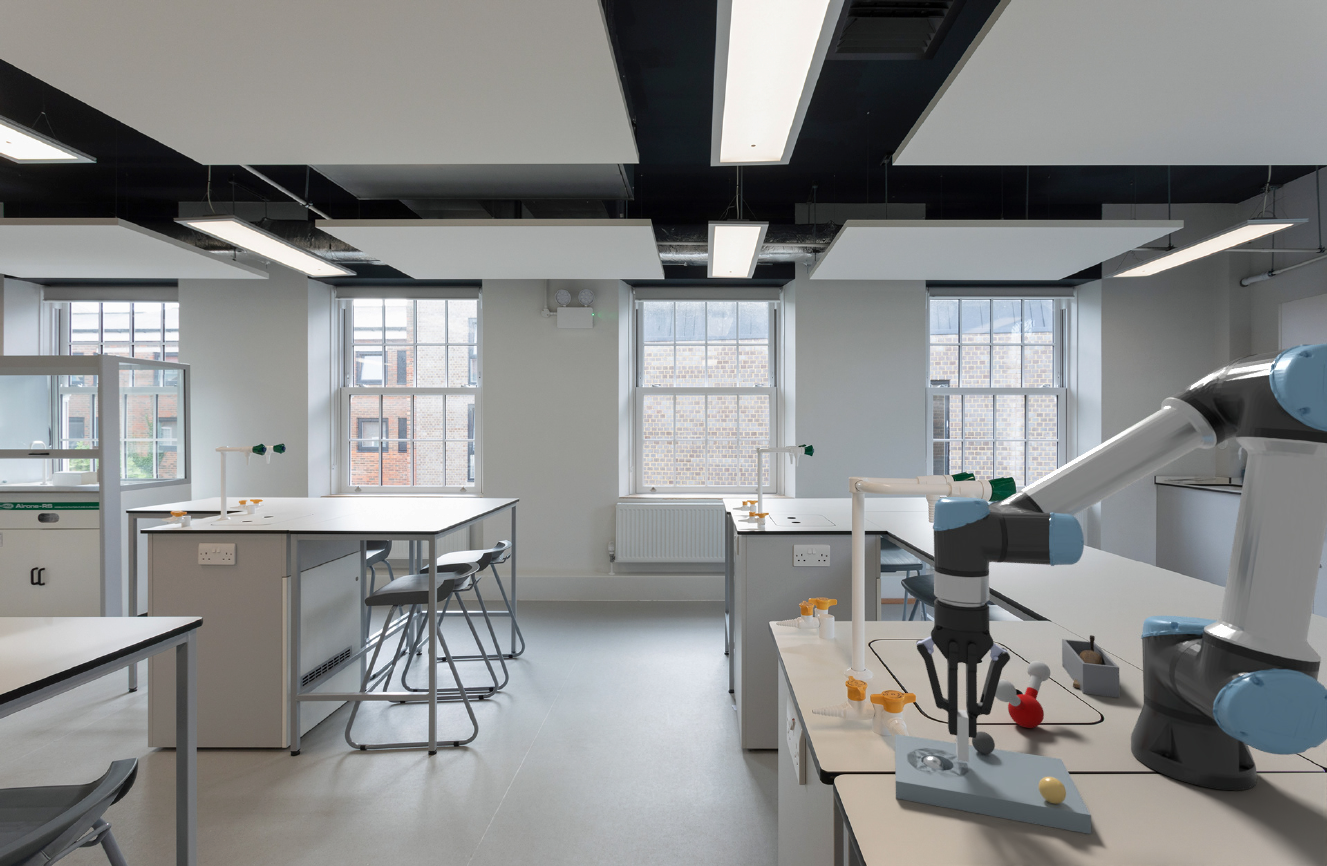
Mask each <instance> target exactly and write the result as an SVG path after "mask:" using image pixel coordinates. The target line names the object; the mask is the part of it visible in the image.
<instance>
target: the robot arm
mask: <svg viewBox="0 0 1327 866" xmlns="http://www.w3.org/2000/svg"><path fill="white" fill-rule="evenodd" d="M1160 406H1161V407H1160V409H1159V410H1158V411H1155V412H1154V413H1152V414H1151V415H1149V416H1147V417H1145V418H1143V419H1142V420H1140V421H1138V422H1137V423H1135V424H1133V425H1131V426H1129V427H1128V428H1126V429H1124V430H1122V431H1121V432H1119V433H1118V434H1116V435H1114V436H1113V437H1110V438H1109V439H1107V440H1106V441H1104V442H1102V443H1100V444H1099V445H1097V446H1095V447H1094V448H1092V449H1090V450H1088V451H1087V452H1085V453H1083V454H1081V455H1079V456H1078V457H1076V458H1075V459H1072V460H1071V461H1069V462H1068V463H1066V464H1064V465H1063V466H1061V467H1059V468H1057V469H1056V470H1054V471H1052V472H1050V473H1049V474H1046V475H1045V476H1044V477H1042V478H1040V479H1038V480H1036V481H1034V482H1033V483H1032V484H1030V485H1028V486H1026V487H1024V488H1022V489H1021V490H1019V491H1018V492H1015V493H1013V494H1012V495H1010V496H1008V497H1006V498H1005V499H1003V500H995V501H991V502H988V501H987V500H986V499H983V498H979V497H964V496H952V497H951V496H948V497H945V496H944V497H941V498H938V500H936V502H935V503H934V511H933V512H934V514H933V526H932V529H933V554H934V555H933V561H934V563H933V564H934V565H933V568H934V569H933V576H934V577H933V582H934V583H933V589H934V590H933V591H934V592H933V595H934V596H935V597H937V598H935V599H934V602H933V603H934V604H933V607H934V608H933V611H934V612H933V613H934V615H933V616H934V617H933V618H934V621H933V622H934V625H933V628H932V630H931V631H930V636H928V637H926V638H924V639H921V638H920V639H918V640H916V650H917V651H918V653H919V655H920V656H921V658H922V659H923V661H924V664H925V669H926V672H927V676H928V680H929V682H930V687H931V691H932V695H933V699H934V703H935V706H936V707H937V709H939V710H944V711H945V712H947V729H948V732H949V734H950V735H951V736H955V743H956V753H957V758H958V760H960V761H966V762H969V745H970V744H969V743H970V739H972V738H976V736H977V732H978V730H977V729H978V728H977V727H978V724H977V723H978V718H979V716H982V715H984V716H989V715H990V714H991V712H992V709H993V708H992V707H993V705H994V700H995V698H996V697H995V694H996V690H997V687H998V683H999V680H1000V678H1001V676H1002V672H1003V669H1004V668H1005V666H1006V665H1007V664H1008V662H1009V661H1010V660H1011V656H1010V654H1009V651H1008V650H1007V648H1004V647H1000V646H999V645H997V644H996V643H995V642H994V639H993V637H992V635H991V633H990V606H989V604H988V603H987V602H988V601H989V600H990V563H998V564H1000V563H1004V564H1005V563H1006V564H1007V563H1009V564H1010V563H1011V564H1025V565H1026V564H1028V565H1029V564H1030V565H1047V566H1049V565H1050V566H1051V567H1055V566H1062V565H1063V566H1064V565H1065V566H1067V565H1068V566H1069V565H1075V564H1076V563H1078V562H1079V561H1080V560H1081V558H1082V555H1083V553H1084V548H1085V544H1084V543H1085V542H1084V541H1085V539H1084V538H1085V537H1084V531H1083V529H1082V525H1081V523H1080V521H1079V520H1078V519H1077V518H1076V517H1075V516H1077V515H1079V514H1080V513H1082V512H1084V511H1086V510H1087V509H1089V508H1091V507H1092V506H1094V505H1097V504H1098V503H1100V502H1102V501H1104V500H1105V499H1107V498H1109V497H1111V496H1112V495H1114V494H1116V493H1118V492H1121V491H1122V490H1123V489H1126V488H1127V487H1129V486H1130V485H1132V484H1134V483H1136V482H1138V481H1140V480H1141V479H1143V478H1146V477H1148V475H1150V474H1152V473H1154V472H1155V471H1159V470H1160V469H1161V468H1163V467H1165V466H1167V465H1169V464H1171V463H1172V462H1174V461H1176V460H1178V459H1179V458H1181V457H1183V456H1184V455H1185V456H1186V455H1187V454H1188V453H1191V452H1192V451H1194V450H1196V449H1197V448H1199V449H1205V450H1209V449H1212V448H1214V447H1216V446H1217V445H1219V444H1221V443H1223V442H1226V441H1227V440H1228V441H1229V440H1230V439H1232V438H1235V441H1236V442H1237V443H1238V444H1239V446H1241V447H1242V448H1243V449H1244V450H1245V451H1246V453H1247V458H1246V465H1245V470H1244V475H1243V476H1244V477H1243V482H1242V487H1241V495H1240V498H1239V499H1240V500H1239V507H1238V511H1237V518H1236V523H1235V530H1234V536H1233V543H1232V547H1231V553H1230V558H1229V559H1230V560H1229V566H1228V572H1227V577H1226V582H1225V589H1224V595H1223V601H1222V605H1221V606H1222V607H1221V612H1220V618H1219V619H1218V620H1216V619H1208V618H1201V617H1192V616H1184V615H1183V616H1180V615H1152V616H1148V617H1146V618H1145V619H1144V620H1143V623H1142V633H1141V637H1140V639H1141V640H1142V641H1141V642H1142V644H1141V645H1142V681H1143V684H1142V687H1143V705H1142V708H1141V711H1140V713H1139V715H1138V718H1137V720H1136V723H1135V725H1134V727H1133V730H1132V732H1131V734H1130V750H1131V753H1132V755H1133V756H1134V758H1136V759H1137V760H1138V761H1139V762H1141V763H1142V764H1144V765H1145V766H1147V767H1149V768H1151V770H1154V771H1156V772H1158V773H1161V774H1163V775H1165V776H1167V777H1170V778H1173V779H1176V780H1179V781H1181V782H1184V783H1188V784H1192V785H1196V786H1199V787H1205V788H1209V789H1216V790H1224V791H1243V790H1248V789H1251V788H1253V787H1254V786H1256V784H1257V766H1256V763H1255V760H1254V757H1253V755H1252V753H1251V750H1250V747H1251V748H1253V749H1255V750H1258V751H1261V752H1264V753H1268V754H1273V755H1281V756H1287V755H1288V756H1289V755H1298V754H1302V753H1305V752H1306V751H1308V750H1309V749H1312V748H1313V749H1314V748H1318V747H1319V746H1320V745H1322V744H1323V743H1324V742H1326V741H1327V688H1326V687H1325V686H1324V685H1323V684H1322V683H1321V682H1320V681H1318V678H1319V672H1320V665H1321V661H1322V657H1321V656H1320V655H1319V654H1318V653H1317V651H1316V650H1315V649H1314V647H1312V646H1311V644H1310V643H1309V642H1308V635H1309V630H1310V626H1311V625H1310V624H1311V619H1312V613H1313V607H1314V606H1313V605H1314V601H1315V596H1316V589H1317V584H1318V579H1319V573H1320V572H1319V571H1320V566H1321V560H1322V555H1323V549H1324V543H1325V538H1326V531H1327V343H1319V344H1317V343H1316V344H1298V345H1295V346H1292V347H1289V348H1285V349H1279V350H1274V351H1269V352H1264V353H1258V354H1257V353H1256V354H1250V355H1246V356H1241V357H1238V358H1236V359H1234V360H1231V361H1229V362H1226V363H1224V364H1223V365H1220V366H1218V367H1217V368H1215V369H1213V370H1212V371H1210V372H1208V373H1206V374H1205V375H1203V376H1201V377H1199V378H1198V379H1196V380H1195V381H1193V382H1192V383H1190V384H1188V385H1187V386H1185V387H1184V388H1181V389H1180V390H1179V391H1177V392H1175V393H1174V394H1172V395H1170V396H1168V397H1166V398H1165V399H1164V400H1162V401H1161V405H1160ZM934 645H935V646H936V648H937V649H938V651H940V653H941V654H942V656H943V657H944V659H946V661H947V665H946V666H947V667H946V669H947V673H946V675H947V680H946V681H947V683H946V685H947V698H945V697H943V696H944V695H943V692H942V689H941V685H940V681H939V678H938V677H939V676H938V673H937V670H936V669H937V668H936V665H935V662H934V657H933V653H935V652H934V651H935V650H934ZM988 652H990V653H989V656H990V663H989V665H988V666H989V667H988V669H987V670H988V671H987V674H986V677H985V681H984V685H983V687H982V688H983V689H982V692H981V695H980V700H979V701H978V684H977V683H978V681H977V679H978V678H977V677H978V676H977V673H978V663H979V662H981V660H982V659H984V657H985V656H986V655H987V654H988ZM959 663H961V664H962V663H963V664H965V701H966V702H965V705H966V709H958V708H959V706H958V705H959V703H958V702H959V701H958V700H959V699H958V697H959V695H958V694H959V693H958V691H959V690H958V689H959V688H958V687H959V686H958V684H959V683H958V682H959V681H958V679H959V678H958V677H959V675H958V672H959ZM969 738H970V739H969Z"/></svg>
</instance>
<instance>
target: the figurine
mask: <svg viewBox="0 0 1327 866" xmlns="http://www.w3.org/2000/svg"><path fill="white" fill-rule="evenodd" d="M1095 639H1096V636H1095V635H1091V634H1090V635H1089V642H1090V646H1091V649H1090V650H1085V651H1082V652H1081V653H1080V655H1079V657H1080V658H1081V659H1082V660H1083V661H1084V663H1088V664H1098V665H1102V657H1101V655H1099V654H1098V653H1096V652H1094V642H1095V641H1096V640H1095ZM1072 687H1074V688H1075V689H1080V684H1079V683H1078V681H1077V680H1076V678H1075V680H1073V682H1072Z"/></svg>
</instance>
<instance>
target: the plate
mask: <svg viewBox="0 0 1327 866" xmlns="http://www.w3.org/2000/svg"><path fill="white" fill-rule="evenodd" d="M894 744H895V745H894V746H895V747H894V748H895V749H894V750H895V751H894V752H895V753H894V754H895V755H894V758H895V763H894V764H895V799H897V800H902V801H910V802H915V803H919V804H925V805H931V806H937V807H941V808H942V807H943V808H947V809H952V810H957V811H964V812H967V813H975V814H978V815H979V814H980V815H985V816H991V817H994V818H1001V819H1007V820H1013V821H1018V822H1023V823H1027V824H1034V825H1039V826H1045V827H1051V828H1055V829H1061V830H1066V831H1072V832H1076V833H1077V832H1078V833H1083V834H1088V835H1092V815H1091V813H1090V811H1089V809H1088V807H1087V805H1086V803H1085V802H1084V800H1083V798H1082V796H1081V794H1080V791H1079V789H1078V788H1077V786H1076V784H1075V782H1074V781H1073V778H1072V776H1071V775H1070V773H1069V771H1068V769H1067V767H1066V765H1065V763H1064V761H1063V759H1062V758H1057V757H1051V756H1045V755H1036V754H1031V753H1023V752H1019V751H1012V750H1011V751H1010V750H1004V749H997V748H994V750H993V751H992V752H991V753H990V754H982V753H979V752H978V751H977V750H976V749H975V748H974V746H973V744H972V745H970V744H969V762H966V761H960V760H958V758H957V753H956V742H952V741H951V742H950V741H944V740H939V739H938V740H937V739H932V738H925V737H924V738H923V737H917V736H910V735H905V734H899V733H894ZM927 756H934V757H936V758H938V759H939V760H940V761H941V762H942V764H943V766H944V771H941V770H935V769H932V768H930V767H927V766H926V765H924V764H923V763H922V761H923V759H924V758H925V757H927ZM1044 777H1054V778H1056V779H1058V780H1059V781H1060V782H1061V783H1062V784H1063V785H1064V787H1065V789H1066V798H1065V800H1064V801H1063V802H1061V803H1059V804H1054V803H1050V802H1048V801H1047V800H1045V799H1044V798H1043V797H1042V795H1041V794H1040V791H1039V782H1040V780H1041V779H1042V778H1044Z"/></svg>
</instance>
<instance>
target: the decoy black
mask: <svg viewBox="0 0 1327 866" xmlns="http://www.w3.org/2000/svg"><path fill="white" fill-rule="evenodd" d="M971 744H972V746H974V748H975V749H976V750H977V751H978V752H979V753H982V754H990V753H991V752H992V751H993V750H994V749H996V748H995V747H996V743H995V740H994V739H993V737H992V736H991V735H990V733H988V732H985V731H977V736H976V738H971Z"/></svg>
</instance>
